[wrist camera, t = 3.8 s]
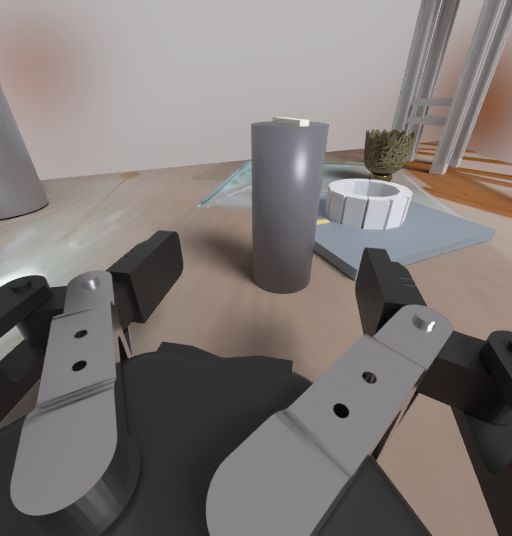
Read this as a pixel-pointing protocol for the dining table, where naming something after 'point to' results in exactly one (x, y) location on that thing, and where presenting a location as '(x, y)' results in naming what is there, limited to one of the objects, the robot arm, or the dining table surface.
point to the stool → (470, 82)
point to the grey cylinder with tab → (285, 200)
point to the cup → (386, 152)
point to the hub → (386, 225)
